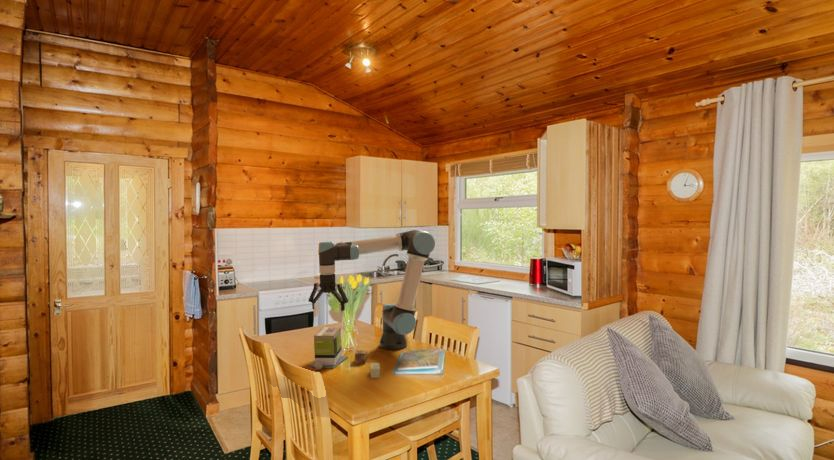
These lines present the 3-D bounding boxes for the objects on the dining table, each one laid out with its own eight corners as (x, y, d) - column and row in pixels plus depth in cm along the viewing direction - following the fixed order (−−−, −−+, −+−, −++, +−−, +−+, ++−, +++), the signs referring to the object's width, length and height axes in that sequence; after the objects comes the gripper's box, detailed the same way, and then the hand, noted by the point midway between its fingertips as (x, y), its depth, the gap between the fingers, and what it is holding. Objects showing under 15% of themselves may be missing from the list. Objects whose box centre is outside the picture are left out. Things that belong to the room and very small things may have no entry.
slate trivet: (347, 358, 232) (347, 356, 232) (333, 368, 217) (333, 367, 217) (324, 355, 236) (324, 354, 236) (308, 366, 221) (308, 364, 221)
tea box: (322, 355, 234) (322, 326, 234) (342, 355, 234) (341, 326, 233) (314, 365, 219) (313, 334, 219) (335, 365, 219) (334, 335, 218)
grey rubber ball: (324, 368, 218) (324, 360, 218) (320, 371, 214) (320, 362, 214) (316, 367, 219) (316, 359, 219) (312, 370, 215) (312, 362, 215)
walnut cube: (366, 360, 229) (366, 350, 229) (365, 363, 224) (365, 353, 224) (356, 360, 229) (356, 350, 229) (355, 363, 224) (354, 353, 224)
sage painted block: (379, 371, 214) (379, 362, 214) (379, 377, 206) (379, 368, 206) (371, 371, 214) (370, 363, 213) (370, 378, 206) (370, 369, 205)
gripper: (354, 272, 225) (355, 316, 226) (308, 271, 231) (309, 313, 233) (347, 275, 217) (349, 319, 219) (300, 274, 224) (302, 317, 225)
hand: (328, 316), depth 226 cm, fingers open, 13 cm apart
